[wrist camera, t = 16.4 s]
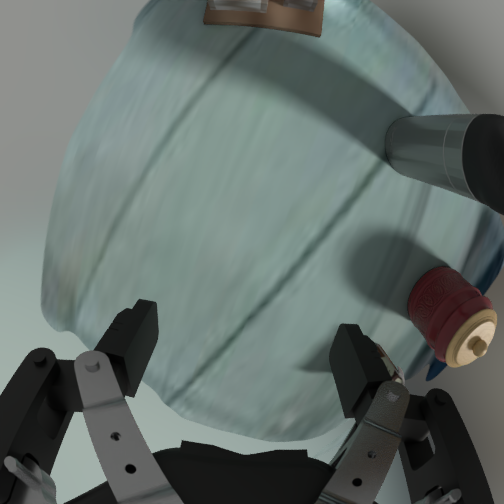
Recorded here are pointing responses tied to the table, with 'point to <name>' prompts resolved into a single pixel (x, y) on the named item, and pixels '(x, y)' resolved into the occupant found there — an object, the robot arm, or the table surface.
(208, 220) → the table surface
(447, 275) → the canister
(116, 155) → the table surface
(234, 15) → the collar base
